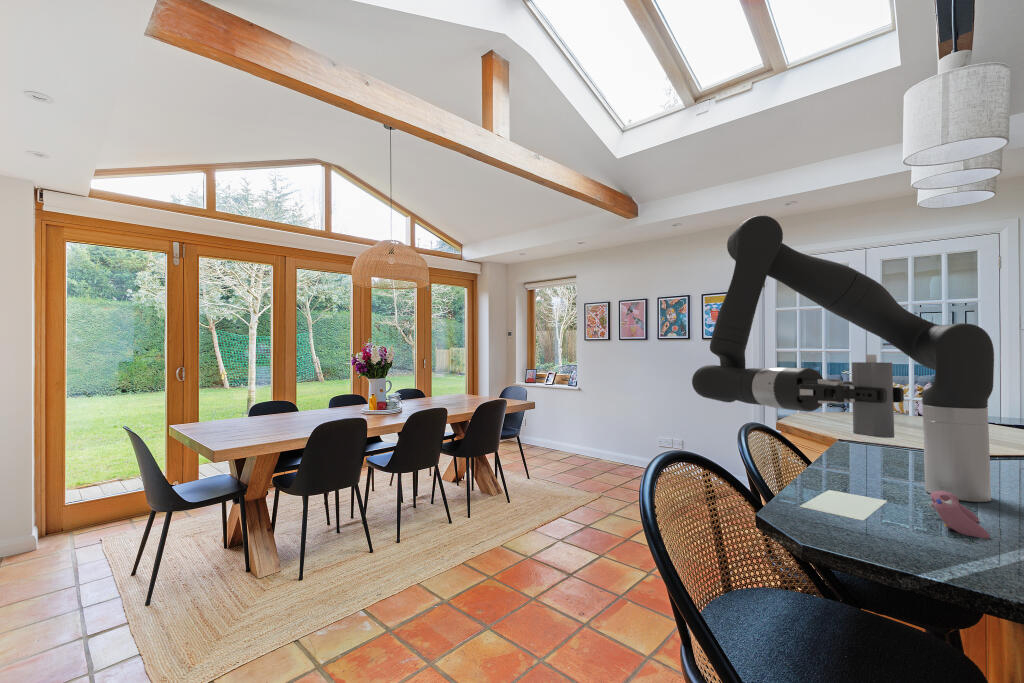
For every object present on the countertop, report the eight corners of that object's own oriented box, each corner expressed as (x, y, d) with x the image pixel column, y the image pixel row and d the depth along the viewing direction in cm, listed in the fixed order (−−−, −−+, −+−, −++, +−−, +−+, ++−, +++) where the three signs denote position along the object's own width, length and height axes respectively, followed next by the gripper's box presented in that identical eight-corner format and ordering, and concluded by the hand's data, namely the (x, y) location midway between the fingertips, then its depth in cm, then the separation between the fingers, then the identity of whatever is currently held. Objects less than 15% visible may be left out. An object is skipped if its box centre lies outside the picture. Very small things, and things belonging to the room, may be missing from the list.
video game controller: (947, 531, 74) (919, 489, 77) (982, 524, 72) (953, 480, 74) (955, 551, 67) (925, 503, 69) (995, 544, 64) (962, 494, 66)
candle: (848, 432, 72) (846, 354, 72) (862, 431, 73) (860, 354, 73) (885, 438, 67) (882, 354, 67) (899, 437, 68) (897, 354, 68)
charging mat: (828, 495, 89) (828, 489, 89) (887, 506, 82) (887, 500, 82) (799, 512, 79) (798, 506, 79) (863, 526, 72) (863, 520, 72)
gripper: (757, 367, 81) (860, 369, 65) (814, 367, 86) (923, 369, 70) (758, 410, 81) (862, 423, 65) (815, 407, 86) (925, 419, 69)
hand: (893, 395), depth 67 cm, fingers closed on candle, 3 cm apart
